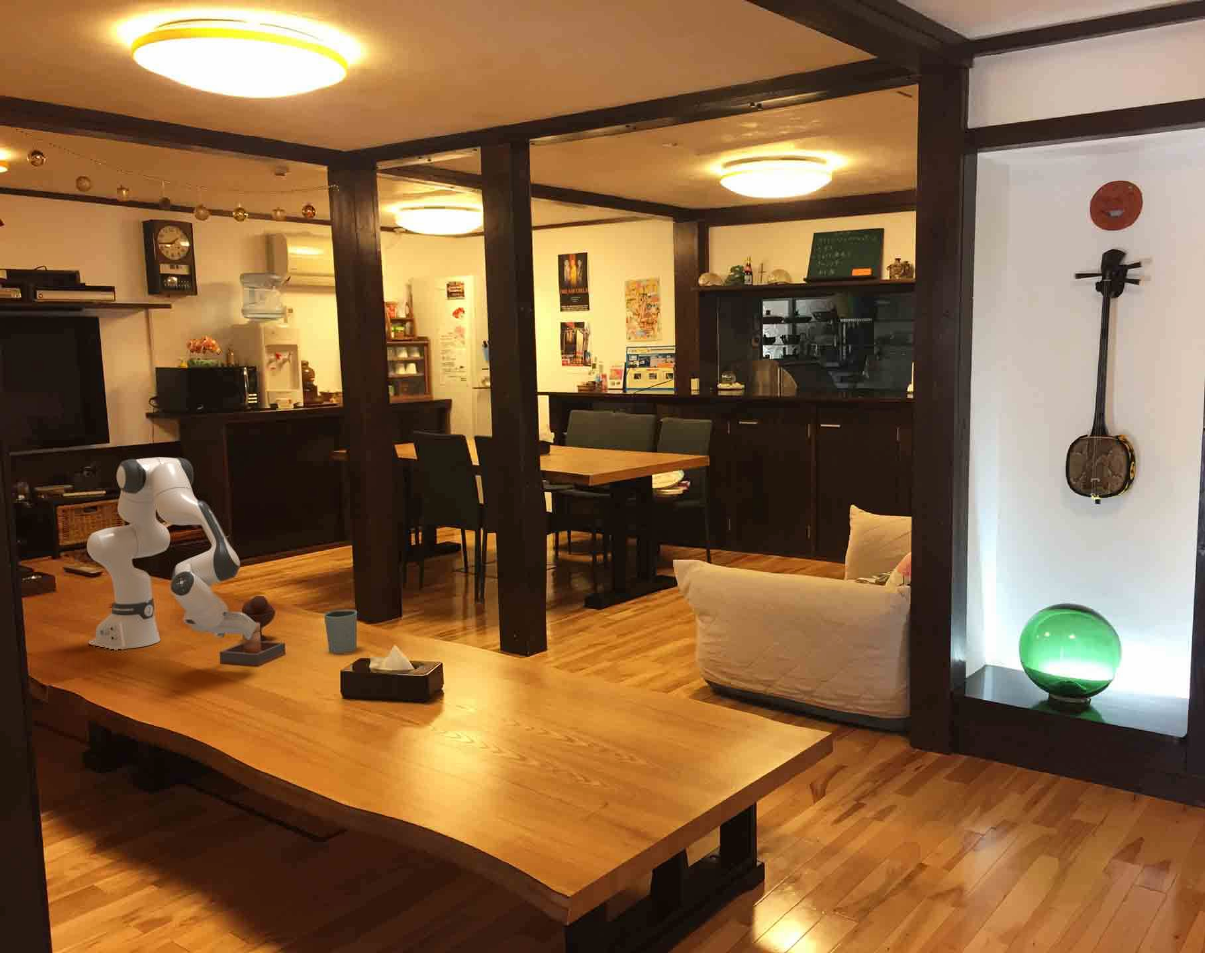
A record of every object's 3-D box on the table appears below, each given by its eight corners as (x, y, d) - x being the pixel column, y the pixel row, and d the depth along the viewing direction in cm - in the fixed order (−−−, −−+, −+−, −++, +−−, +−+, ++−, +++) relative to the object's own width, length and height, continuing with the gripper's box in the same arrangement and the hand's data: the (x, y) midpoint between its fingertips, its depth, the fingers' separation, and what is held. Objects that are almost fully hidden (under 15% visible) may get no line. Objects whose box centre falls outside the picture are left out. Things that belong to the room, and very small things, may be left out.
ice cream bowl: (281, 635, 344) (279, 591, 342) (267, 644, 333) (264, 599, 331) (251, 635, 345) (248, 591, 343) (236, 644, 334) (233, 599, 332)
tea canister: (240, 657, 315) (238, 625, 314) (251, 653, 320) (249, 621, 319) (254, 658, 314) (252, 626, 313) (265, 654, 319) (263, 622, 318)
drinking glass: (339, 656, 317) (337, 618, 316) (319, 651, 323) (317, 614, 322) (365, 648, 325) (363, 611, 324) (345, 644, 331) (343, 607, 330)
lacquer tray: (220, 663, 313) (219, 651, 312) (248, 651, 326) (248, 640, 325) (258, 666, 308) (257, 654, 308) (285, 653, 321) (284, 642, 321)
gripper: (245, 604, 297) (268, 629, 307) (187, 601, 303) (211, 625, 313) (236, 623, 293) (260, 647, 303) (177, 619, 299) (202, 643, 310)
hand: (235, 636), depth 308 cm, fingers open, 8 cm apart
